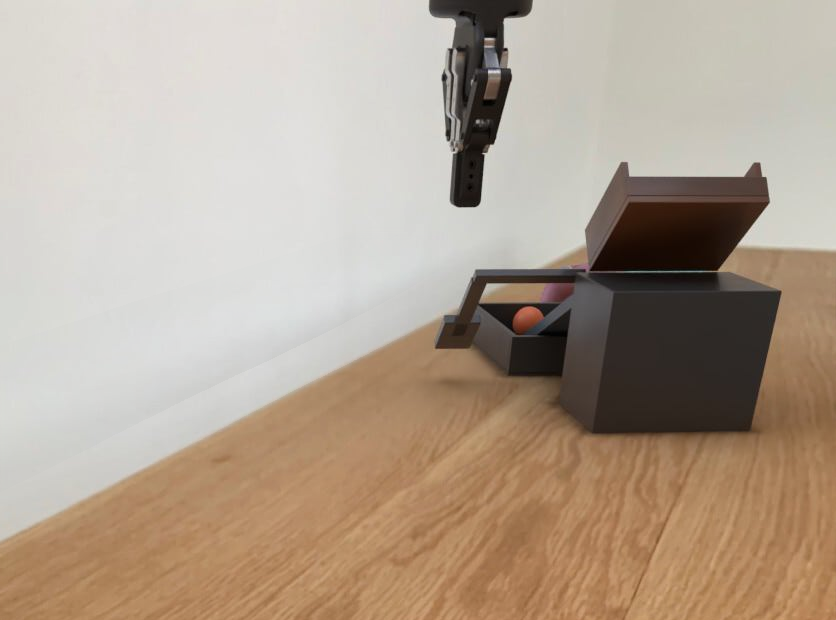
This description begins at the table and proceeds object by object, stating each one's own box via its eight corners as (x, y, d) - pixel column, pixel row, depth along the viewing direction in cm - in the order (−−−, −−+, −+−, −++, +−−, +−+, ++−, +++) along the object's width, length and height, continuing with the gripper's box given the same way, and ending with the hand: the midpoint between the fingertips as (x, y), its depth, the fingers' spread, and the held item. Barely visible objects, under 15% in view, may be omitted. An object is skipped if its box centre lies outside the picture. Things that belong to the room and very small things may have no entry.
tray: (466, 339, 110) (469, 302, 108) (614, 338, 111) (620, 301, 109) (507, 378, 96) (512, 336, 94) (677, 376, 97) (684, 335, 95)
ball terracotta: (547, 301, 106) (550, 330, 106) (536, 317, 109) (538, 345, 109) (518, 299, 106) (520, 329, 105) (507, 316, 109) (509, 344, 108)
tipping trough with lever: (434, 349, 93) (431, 311, 94) (659, 347, 95) (655, 309, 95) (491, 202, 74) (487, 155, 75) (770, 202, 76) (764, 157, 77)
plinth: (557, 406, 88) (575, 272, 83) (703, 404, 89) (730, 271, 84) (591, 437, 81) (614, 291, 76) (749, 434, 82) (782, 290, 77)
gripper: (564, -72, 74) (533, 215, 82) (513, -53, 85) (491, 198, 94) (453, -73, 73) (434, 216, 82) (416, -54, 84) (403, 198, 93)
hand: (464, 206), depth 88 cm, fingers closed
